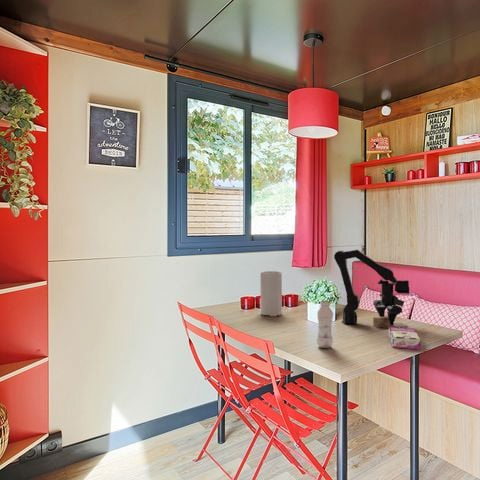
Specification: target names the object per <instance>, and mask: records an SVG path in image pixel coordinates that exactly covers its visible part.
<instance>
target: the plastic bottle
mask: <svg viewBox="0 0 480 480" xmlns="http://www.w3.org/2000/svg"><path fill="white" fill-rule="evenodd" d="M316 315H317V320H318V322H317V323H318V331H317V338H316V344H317V346H318V347H319V348H322V349H329V348H332V346H333V345H334V341H333V337H332V336H333V334H332V332H333V331H332V327H333V326H332V323H333V318H334V317H333V316H334V312H333V310H332V309H331V308H330V301H328V300H320V307H319V309H318V310H317V314H316Z"/></svg>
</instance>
